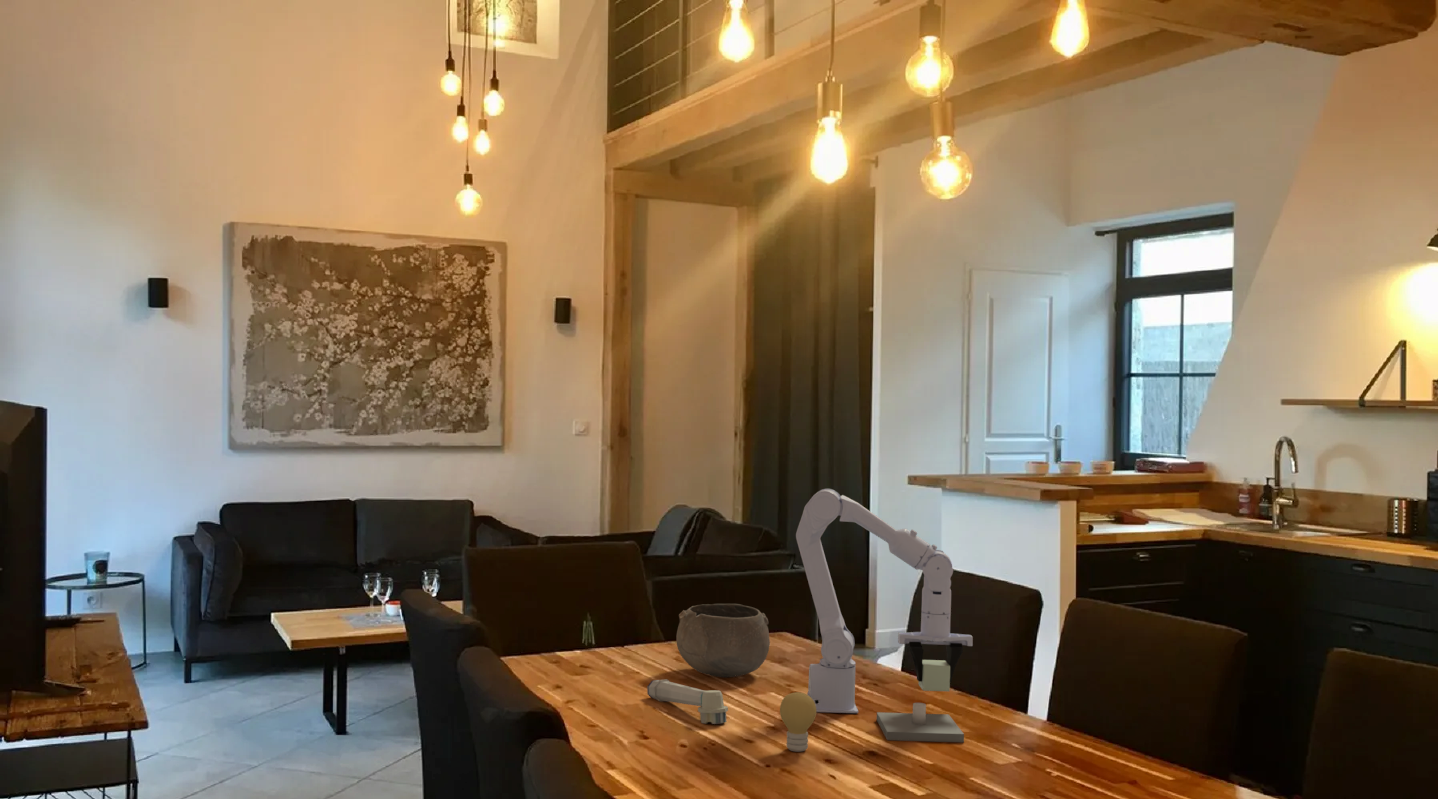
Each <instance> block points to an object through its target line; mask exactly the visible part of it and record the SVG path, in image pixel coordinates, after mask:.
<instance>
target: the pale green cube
mask: <svg viewBox="0 0 1438 799" xmlns="http://www.w3.org/2000/svg"><path fill="white" fill-rule="evenodd" d="M950 683H951V682H950V665H949V664H948V663H947V660H944V659H943V660H939V659H937V660H936V659H923V660H922V681H918V686H919V687H920V689H921V690H922V691H925V692H950V689H951V684H950Z"/></svg>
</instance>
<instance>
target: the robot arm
mask: <svg viewBox="0 0 1438 799" xmlns="http://www.w3.org/2000/svg"><path fill="white" fill-rule="evenodd" d="M839 516H840V517H839ZM800 517H801V518H800V521H799V523H798V526H797V529H796V533H795V539H796V543H797V546H798V550H799V552H800V557H801V562H802V564H803V568H804V571H805V575H806V579H807V581H808V586H809V590H810V593H811V595H812V596H811V597H812V600H813V604H814V608H815V611H816V614H817V618H818V624H819V629H820V634H821V640H822V642H821V647H820V648H821V649H820V651H821V652H820V654H821V656H822V658H820V659H819V663H810V664H809V666H808V691H807V693H806V694H807V695H808V696H810V697H811V698H812V699H813V701H814V703H815V705H816V713H835V714H836V713H838V714H841V713H842V714H858V713H859V710H858V706H856V700H855V697H856V696H855V694H856V693H855V692H856V665H857V663H856V661H855V660H853V658H852V657H853V656H854V649H855V645H856V644H855V637H854V635H853V633H851V631H850V630H849V629H848V628H847V626H846V623H845V619H844V617H843V615H842V612H841V608H840V605H839V602H838V598H837V594H836V590H835V587H834V585H833V579H832V577H831V573H830V569H829V566H828V562H827V559H826V555H825V552H824V547H823V545H822V544H823V543H822V540H821V537H822V536H823V534H824V532H825V531H826V530H827V528H828V526H829V525H830V524H831V523H832V522H834V521H835V520H836V518H838V517H839V522H842V523H843V522H844V523H845V522H848V523H856V524H857V525H858V526H861V527H862V528H864V529H865V530H866V531H867V532H870V533H871V534H873V535H874V536H876V537H878V538H879V539H881V540H883V541H884V542H885V543H887V545H888V549H889V553H890V554H892V555H893V556H895V557H897V558H898V559H900V560H901V561H903V563H904V562H905V563H906V564H907V565H908V566H910V567H912V568H913V569H914V570H921V571H922V572H923V587H921V588H922V589H921V614H920V615H921V616H920V618H921V619H920V620H921V621H920V631H913V632H912V631H911V632H909V631H908V632H898V635H897V637H898V638H897V642H898V644H899V645H905V644H907V647H908V649H909V652H910V654H911V657H912V660H913V664H914V667H915V674H916V680H917V682H919V681H922V660H924V658H923V657H924V649H923V645H945V647H946V648H945V649H946V650H945V651H946V662H947V663H948V664H949V665H950V683H952V681H953V675H954V672H955V669H956V666H957V664H958V662H959V660H960V658H961V656H962V654H963V653H964V647H963V646H967V647H973V645H974V644H973V640H974V639H973V638H974V637H973V636H972V635H971V634H962V633H951V616H952V615H951V614H952V612H951V611H952V609H951V608H952V590H951V586H952V580H951V577H952V576H953V573H954V568H953V563H952V561H951V559H950V557H949V555H948V554H946V553H945V552H944V551H943V550H941V549H938V546H937V545H936V544H932V545H931V544H930V543H928V542H927V541H925V540H924V539H923V538H921V537H920V536H918V531H915V530H914V529H911V530H909V529H908V528H900V529H895V528H894V527H893V526H891V525H890V524H888V522H886V521H884V520H883V519H881V518H880V517H878V516H877V515H876V514H875V513H873V512H871V511H870V510H869V509H868V508H866V507H864V506H863V505H862V504H861V503H859V502H857V501H856V500H854V499H851V498H850V497H848V496H846V495H844V494H842V495H840V493H839V492H838V491H836V490H834V489H832V488H823V489H820V490H818V491H817V492H816V493H814V494H813V496H811V498H810V499H809V501H808V502H807V503H806V504H805V506H804V508H803V511H802V515H801V516H800Z"/></svg>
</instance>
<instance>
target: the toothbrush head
mask: <svg viewBox="0 0 1438 799" xmlns="http://www.w3.org/2000/svg"><path fill="white" fill-rule="evenodd" d="M646 689H647V692H646V693H647V695H648V697H650V698H651V699H654V700H657V701H658V702H659V703H660V702H671V703H675V704H676V703H677V704H681V705H682V704H683V705H689V706H696V707H697V712H698V713H699V715H700V716H699V718H700V723H701V724H709V723H711V724H712V725H713V724H714V725H715V724H716V725H718V724H724V723H727V712H728V711H729V706H726V705H725V704H724V697H723V693H722V691H721V690H718V689H717V690H703V689H700V688H696V687H691V686H688V685H683V684H680V683H676V682H672V681H670V680H669V679H667V678H666V679H655V680H650V682H649V683H648V685H647V686H646Z"/></svg>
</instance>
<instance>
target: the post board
mask: <svg viewBox="0 0 1438 799" xmlns="http://www.w3.org/2000/svg"><path fill="white" fill-rule="evenodd" d="M926 711H927V705H926V703H923V702H913V703H912V712H911V713H910V712H909V713H907V712H884V711H883V712H881V711H880V712H879V711H877V712H876V722H877V723H878V725H879V727H880V729H881V732H882V733H883V736H884V737H885V739H886V740H887V741H903V742H904V741H905V742H906V741H907V742H936V743H938V742H941V743H942V742H943V743H964V742H965V733H964V732H963V731H962V729H961V728H960V727H959V726H958V724H957V723H956V722H955V721H954V719H953V718H952V717H951V716H950V714H949V713H948V714H946V713H945V714H944V713H943V714H942V713H926Z"/></svg>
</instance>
